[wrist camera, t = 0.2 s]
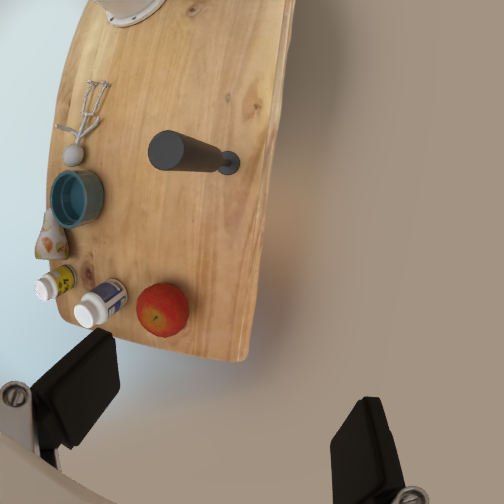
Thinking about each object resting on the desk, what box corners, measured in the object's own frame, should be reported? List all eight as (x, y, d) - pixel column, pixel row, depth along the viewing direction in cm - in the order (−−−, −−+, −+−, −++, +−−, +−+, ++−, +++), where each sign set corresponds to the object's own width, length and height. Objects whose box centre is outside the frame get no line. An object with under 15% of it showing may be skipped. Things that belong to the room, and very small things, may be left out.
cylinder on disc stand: (230, 146, 35) (169, 117, 16) (244, 164, 35) (196, 151, 17) (212, 161, 36) (137, 149, 17) (226, 179, 36) (162, 183, 17)
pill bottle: (100, 281, 44) (65, 302, 34) (121, 275, 42) (86, 297, 33) (111, 308, 45) (80, 333, 35) (133, 304, 44) (101, 331, 34)
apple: (157, 267, 41) (132, 285, 34) (202, 288, 41) (185, 312, 33) (147, 306, 43) (124, 329, 36) (189, 327, 43) (171, 354, 36)
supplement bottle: (75, 291, 45) (48, 308, 37) (60, 279, 45) (32, 294, 37) (78, 271, 44) (49, 287, 36) (63, 259, 44) (33, 273, 36)
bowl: (88, 158, 38) (68, 158, 33) (114, 198, 39) (95, 202, 34) (62, 194, 40) (43, 198, 36) (86, 234, 42) (67, 240, 37)
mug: (71, 200, 41) (46, 236, 33) (83, 241, 47) (65, 278, 40) (41, 201, 40) (16, 235, 32) (55, 240, 46) (36, 275, 39)
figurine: (99, 75, 29) (66, 169, 32) (119, 87, 35) (90, 171, 38) (74, 75, 29) (44, 162, 33) (95, 85, 35) (67, 164, 39)
